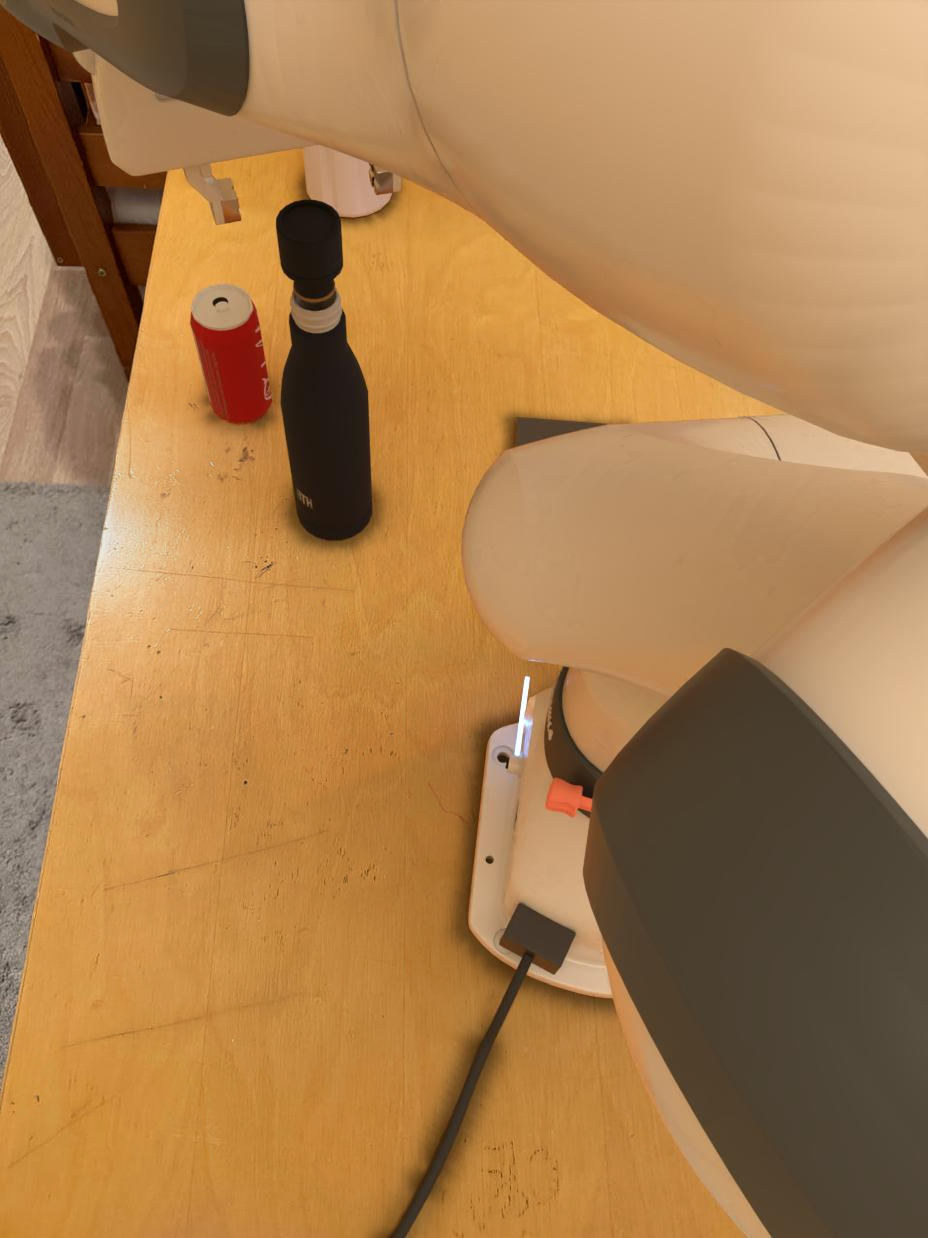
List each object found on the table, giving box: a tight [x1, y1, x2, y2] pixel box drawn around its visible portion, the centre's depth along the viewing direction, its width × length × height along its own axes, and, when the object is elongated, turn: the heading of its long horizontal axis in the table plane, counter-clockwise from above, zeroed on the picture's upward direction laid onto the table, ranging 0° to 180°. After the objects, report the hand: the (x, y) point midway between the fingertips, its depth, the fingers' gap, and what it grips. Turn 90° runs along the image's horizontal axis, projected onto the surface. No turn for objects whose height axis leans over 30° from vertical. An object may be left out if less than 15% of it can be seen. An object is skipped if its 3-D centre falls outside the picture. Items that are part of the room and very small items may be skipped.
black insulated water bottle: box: [275, 199, 373, 542], centre depth 73 cm, size 6×6×30 cm
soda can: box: [189, 282, 273, 424], centre depth 86 cm, size 6×6×12 cm
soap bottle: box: [302, 145, 393, 219], centre depth 94 cm, size 9×9×25 cm
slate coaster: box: [514, 416, 608, 447], centre depth 89 cm, size 10×10×1 cm
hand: (306, 201), depth 58 cm, fingers open, 8 cm apart
